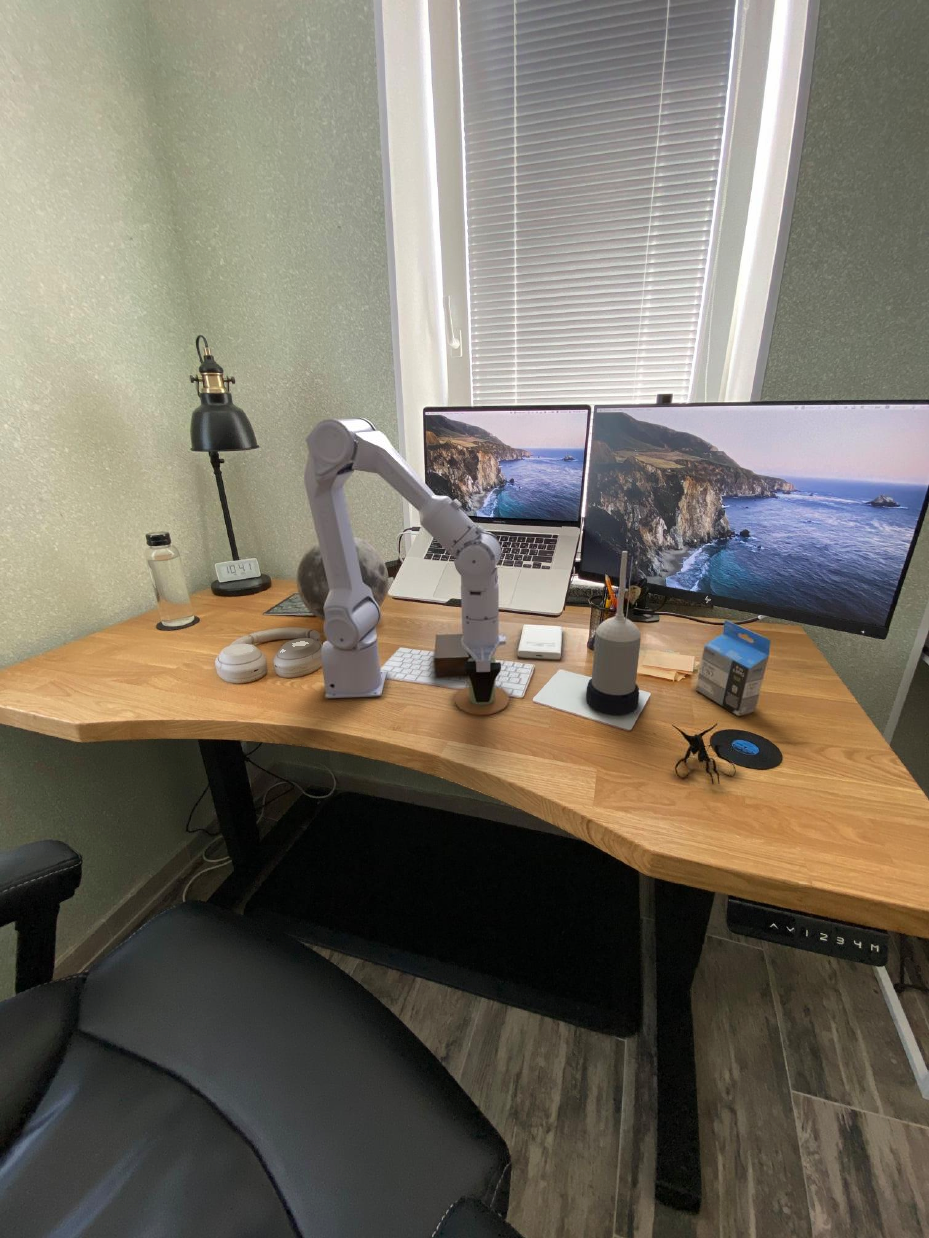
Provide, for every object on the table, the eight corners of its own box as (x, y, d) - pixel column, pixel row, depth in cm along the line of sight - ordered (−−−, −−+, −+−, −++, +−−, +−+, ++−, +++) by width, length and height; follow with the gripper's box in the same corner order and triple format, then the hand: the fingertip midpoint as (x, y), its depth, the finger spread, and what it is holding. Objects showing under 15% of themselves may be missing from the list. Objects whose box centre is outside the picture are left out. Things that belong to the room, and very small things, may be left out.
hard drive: (562, 633, 107) (560, 660, 96) (523, 631, 109) (517, 657, 97) (562, 626, 106) (560, 652, 95) (523, 624, 108) (517, 649, 97)
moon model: (303, 612, 123) (289, 531, 115) (384, 601, 128) (377, 523, 120) (304, 645, 105) (288, 552, 97) (399, 631, 110) (391, 542, 103)
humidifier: (616, 684, 87) (630, 542, 77) (649, 708, 80) (668, 555, 70) (576, 694, 84) (584, 549, 74) (605, 720, 77) (619, 563, 67)
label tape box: (694, 690, 84) (705, 622, 80) (713, 685, 86) (725, 618, 81) (737, 717, 77) (752, 644, 72) (757, 711, 78) (774, 639, 73)
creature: (743, 791, 64) (715, 742, 70) (756, 764, 61) (726, 715, 67) (682, 794, 64) (659, 745, 70) (692, 767, 60) (667, 718, 67)
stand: (435, 677, 91) (434, 658, 89) (437, 652, 100) (435, 634, 99) (490, 675, 91) (490, 656, 89) (487, 651, 100) (486, 632, 99)
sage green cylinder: (469, 705, 81) (468, 667, 79) (468, 691, 86) (467, 655, 83) (496, 704, 81) (496, 666, 79) (494, 690, 86) (494, 654, 83)
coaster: (454, 716, 79) (454, 714, 79) (454, 687, 88) (454, 685, 88) (511, 714, 79) (511, 712, 79) (506, 685, 88) (506, 683, 88)
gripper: (511, 631, 71) (510, 713, 76) (501, 596, 84) (502, 667, 90) (461, 633, 71) (464, 715, 76) (459, 597, 84) (462, 669, 89)
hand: (481, 689), depth 83 cm, fingers open, 6 cm apart
